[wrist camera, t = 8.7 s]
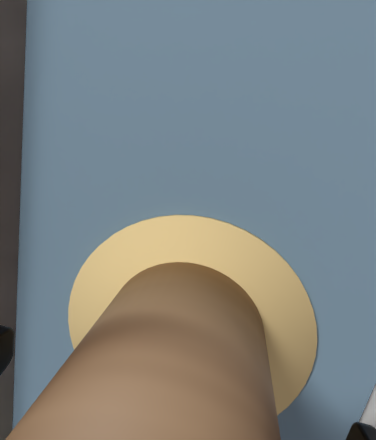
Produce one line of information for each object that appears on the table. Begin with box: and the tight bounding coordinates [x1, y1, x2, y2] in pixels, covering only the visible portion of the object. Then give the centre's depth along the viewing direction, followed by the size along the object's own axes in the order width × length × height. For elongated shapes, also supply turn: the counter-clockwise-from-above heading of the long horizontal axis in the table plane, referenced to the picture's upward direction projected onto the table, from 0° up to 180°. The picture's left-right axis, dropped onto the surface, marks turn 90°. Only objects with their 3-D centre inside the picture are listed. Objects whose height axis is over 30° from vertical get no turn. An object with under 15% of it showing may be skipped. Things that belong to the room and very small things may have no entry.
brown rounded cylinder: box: [5, 262, 281, 440], centre depth 7 cm, size 5×5×6 cm
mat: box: [12, 0, 376, 440], centre depth 10 cm, size 20×12×1 cm, turn 169°
